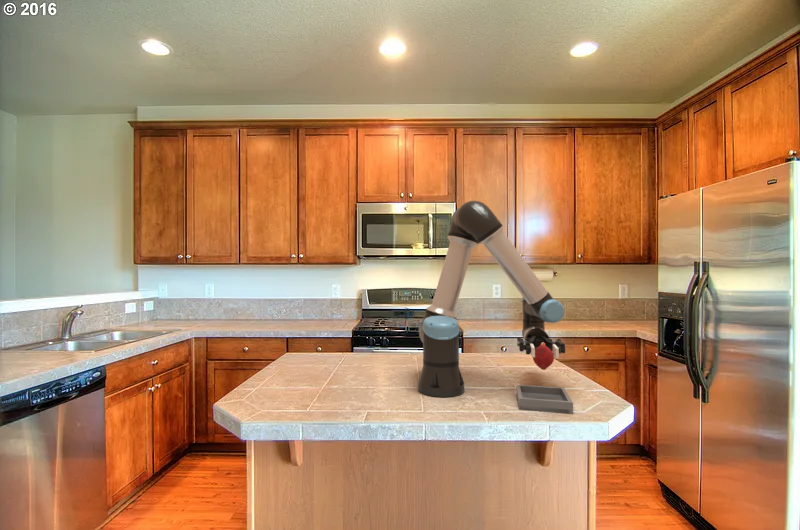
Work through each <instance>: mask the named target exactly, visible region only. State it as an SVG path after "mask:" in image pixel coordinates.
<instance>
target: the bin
mask: <svg viewBox="0 0 800 530" xmlns="http://www.w3.org/2000/svg"><path fill="white" fill-rule="evenodd" d="M515 385H516V386H515V387H516V390H515V391H516V394H515V395H516V399H517V406H518V410H519V411H520V410H521V411H532V412H534V411H535V412H545V413H546V412H547V413H558V414H559V413H560V414H570V415H573V414H574V402H573V400H572V399H571V397H570V395H569V394H568V392H567V390H566V388H565V387H561V386H559V387H558V386H556V387H555V386H546V385H545V386H544V385H543V386H542V385H530V384H529V385H528V384H515Z"/></svg>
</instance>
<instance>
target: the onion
mask: <svg viewBox="0 0 800 530" xmlns="http://www.w3.org/2000/svg"><path fill="white" fill-rule="evenodd" d="M532 360H533V363H534V364H535V365H536V366H537V367H538V368H539V369H541V370H543V371H546V370H547V369H548V368H549V367H551V365H552V364H553V362H554V360H555V356H554V355H553V352H552V351H551V350H550V349H549V348H548V347H547V346H546V345H545V343H544V342H542V343H541V345H540V346H539V347H537V348H536V349H535V357H532Z"/></svg>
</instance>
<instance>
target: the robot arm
mask: <svg viewBox="0 0 800 530" xmlns="http://www.w3.org/2000/svg"><path fill="white" fill-rule="evenodd" d="M449 221H450V228H449V230H448V234H447V240H449V245H448V248H447V251H446V255H445V259H444V262H443V266H442V269H441V273H440V276H439V280H438V281H437V282H438V283H437V286H436V290H435V293H434V296H433V299H432V303H431V305H430V306H428V307H426V308H425V311H424V316H423V318H422V321H420V323H419V326H418V336H419V339H420V341H421V343H422V369H421V372H420V375H419V378H418V381H417V391H418V392H419V393H420V394H423V395H426V396H430V397H434V398H435V397H437V398H438V397H439V398H449V397H457V396H460V395H462V394H464V393H465V382H464V379H463V374H462V371H461V369H460V361H459V360H460V353H459V352H460V350H459V349H460V325H459V321H458V320H457V319H458V317H457V314H456V312H455V311H456V308H457V305H458V302H459V298H460V294H461V290H462V287H463V283H464V281H465V277H466V274H467V270H468V266H469V263H470V259H471V256H472V253H473V251H474V250H473V249H474V248H476V247H478V246H479V244H480V245H483V246H484V247H485V248H486V249H487V251H488V252H489V254H490V255H491V257H492V258H493V259H494V260H495V262H496V264H498V265H499V266H500V269H502V271H503V272H504V273H505V274H506V276H507V277H508V278H509V280H510V281H511V283H512V285H514V287H515V289H517V290H518V293H520V294H521V296H522V297H521V298H522V299H521V303H522V304H521V307H522V331H521V332H522V333H521V335H522V337H517V338H516V344H517V345H516V346H517V347H518V348H519V350H518V351H519V352H524V351H525V355H531V358H533V357H535V349H536V348H537V347H539V346H540V345H541V343H542V342H544V343H545V345H546V346H547V347H548V348H549V349H550V350H551V351H552V353H553V355H554V358H555V359H559V358H560V354H565V353H566V343H564V342H563V341H562V338H561V339H560V338H557V339H554V340H553V339H552V338H550V337H549V334H548V333H547V331H546V330H545V328H546V327H545V326H546V325H545V323H547V324H548V323H549V324H555V323H556V324H557V323H559V322H560V321H561V320H562V319H563V318H564V316H565V312H566V311H565V307H564V305H563V304H562V303H561V302H560V301H559V300H557V299H554V298H553V296H552V295H551V294H550V292H549V291H548V289H547V288H546V287H545V285H543V283H542V282H541V281H540V279H539V277H537V275H536V274H535V273H534V271H533V270H532V268H531V267H530V266H529V265H528V263H527V262H526V260H525V259H524V258H523V256H522V255H521V254H520V252H519V251H518V250H517V248H516V247H515V245H514V244H513V242H511V240H510V238H509V237H508V236H507V234H506V233H505V232H504V231H503V229H504V225H503V223H501V221H500V220H499V218H498V217H497V216H496V214H495V213H494V211H492V209H491V208H490V207H489V206H488V205H487V204H486V203H484V202H481V201H479V200H469V201H466V202H464V203H463V204H462V205H461V206H460V207H459V208H457V209H456V210H455V211H454V212H453V213H452V214H451V217H450V220H449Z"/></svg>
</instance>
